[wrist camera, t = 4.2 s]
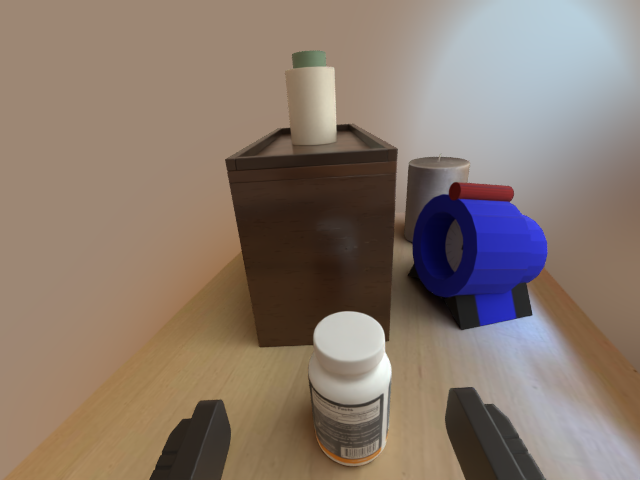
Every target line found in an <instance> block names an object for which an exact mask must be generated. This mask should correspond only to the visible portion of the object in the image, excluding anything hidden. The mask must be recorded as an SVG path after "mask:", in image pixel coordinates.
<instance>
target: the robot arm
mask: <svg viewBox="0 0 640 480" xmlns="http://www.w3.org/2000/svg"><path fill="white" fill-rule="evenodd" d="M445 423H446V429H447V433H448V436H449V439H450V441H451V444H452V446H453V449H454V451H455V454H456V456H457V459H458V461H459V464H460V466H461V469H462V472H463V474H464V477H465V479H466V480H546V479H545V477H544V476H543V474H542V472H541V471H540V469H539V467H538V466H537V464H536V463H535V461H534V459H533V458H532V456H531V454H529V453H528V450H527V448H526V446H525V445H524V443H523V441H522V440H521V439H520V438H519V435H518V433H517V432H516V430H515V428H514V427H513V425H512V423H511V422H510V420H509V418H508V417H507V416H505V415H504V414H503V413H502V412H501V411H500V410H499V409H498V408H497V407H496V406H495V405H494V404H484V403H483V402H482V400H481V398H480V396H479V394H478V393H477V391H476V390H475V389H474V388H473V387H466V388H450V390H449V394H448V401H447V408H446V415H445ZM230 439H231V428H230V424H229V420H228V417H227V413H226V410H225V406H224V403H223V401H222V400H204V401H199V402H198V404H197V406H196V408H195V410H194V413H193V415H192V418H191V419H182V420H181V422H180V423H179V424H178V425H177V426H176V428H175V429H174V430H173V431H172V432H171V434H170V435H169V438H168V440H167V442H166V444H165V446H164V449H163V451H162V455H160V457H159V460H158V462H157V464H156V466H155V470H154V471H153V473H152V475H151V477H150V479H149V480H221V477H222V473H223V469H224V465H225V461H226V458H227V454H228V450H229V446H230Z"/></svg>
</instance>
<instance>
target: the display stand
mask: <svg viewBox="0 0 640 480" xmlns="http://www.w3.org/2000/svg"><path fill="white" fill-rule="evenodd" d="M336 131H337V141H336V142H334V143H329V144H322V145H305V146H302V145H293V144H292V139H291V129H290V128H282V129H281V128H279V129H276V130H275V131H273V132H271V133H269V134H268V135H266V136H264V137H262V138H261V139H259V140H257V141H256V142H254V143H252V144H251V145H249V146H247V147H245V148H244V149H242V150H240V151H239V152H237V153H236V154H234V155H232V156H230V157H228V158H227V159H225V161H226V167H227V171H228V172H227V173H228V178H229V183H230V189H231V195H232V200H233V205H234V211H235V216H236V222H237V227H238V232H239V238H240V243H241V249H242V254H243V259H244V265H245V270H246V276H247V281H248V286H249V292H250V297H251V303H252V308H253V314H254V319H255V324H256V330H257V335H258V341H259V346H260V347H273V346H293V345H314V343H313V334H314V330H315V328H316V326H317V325H318V323H319V322H320V321H321V320H323V319H324V318H325V317H327V316H329V315H331V314H334V313H338V312H344V311H351V312H359V313H363V314H366V315H368V316H370V317H372V318H373V319H375V320H376V321H377V322H378V323H379V324H380V325H381V327H382V329H383V331H384V334H385V341H389V330H390V308H391V285H392V263H393V241H394V219H395V197H396V173H397V154H398V149H397V148H396V147H394V146H392V145H390V144H388V143H387V142H385V141H383V140H381V139H380V138H378V137H376V136H374V135H372V134H371V133H369V132H367V131H365V130H363V129H362V128H360V127H358V126H356V125H354V124H343V125H342V124H341V125H336Z"/></svg>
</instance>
